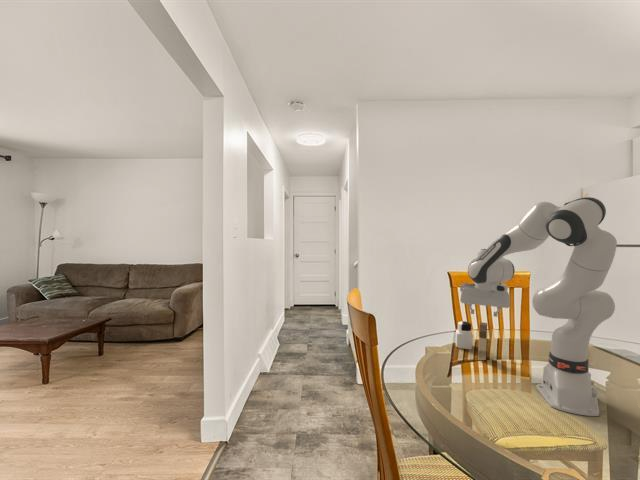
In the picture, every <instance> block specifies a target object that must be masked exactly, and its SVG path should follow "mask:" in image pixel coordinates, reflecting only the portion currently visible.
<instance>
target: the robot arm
mask: <svg viewBox="0 0 640 480" xmlns="http://www.w3.org/2000/svg"><path fill="white" fill-rule="evenodd" d="M606 215H607V209H606V206H605V205H604V203H603V202H602V200H599V199H598V198H595V197H591V196H589V197H587V196H586V197H580V198H577V199H574V200H570V201H568V202H565V203H564V205H562V206H557V205H555V204H554V203H552V202H548V201H540V202H537V203H535V204H534V205H533V206H532V207H531V208H530V209H528V210H527V212H525V214H523V216H522V217H521V218H520V219H519V220H518V222H517V223H516V224H515V225H514V226H513V227H511V229H510V230H507V232H505V233H504V234H501V236H499V237H497V238H496V239H495V240H494V241H493V242H492V243H491V244H490V245H489V246H488V247H487V248H482V249H479V250H478V252H477V254H476V258H474V259H472V260H471V262H470V263H469V265H468V268H467V274H468V276H469V278H470V279H471V281H473V282H474V283H470V282H469V283H467V282H464V283H461V284H460V286H459V289H460V292H461V294H460V299H459V300H460V301H459V302H460V303H462V304H467V305H468V308H469V310H470V315H475V309H473V308H472V306H473V305H474V306H475V305H477V306H485V307H487V306H488V307H494V308H495V307H496V310H495V311H493V317H494V318H496V317H497V318H498V314H499V312H501V310H502V309H501V308H505V309H508V308H510V306H511V300H510V299H511V298H510V294H509V292H508V285H507V284H505V282H509V281H511V280H512V279H513V278H514V275H515V266H514V264H513V262H511V260H510V259H506V258H505V256H508V255H510V254H514V253H520V252H521V253H522V252H527V251H532V250H534V249H536V248H538V247H540V246H541V245H542V244H544V243H545V241H546V240H547V239H548V238H549V237H551V238H552V239H554V240H555V241H557V242H559V243H562V244H565V245H566V246H568V247H573V250H572V253H571V255H570V257H569V261H568V263H567V265H566V267H565V269H564V271H563V272H562V274H561V275H560V276H559V277H558V278H557V279H555V281H553V282H551V284H548V285H547V286H544V287H543V288H540V289H538V290H536V291H535V293H534V294H533V296H532V307H533V308H534V310H535V312H536V313H537V315H539V316H543V317H545V318H551V319H558V320H559V319H560V320H568V321H567V322H566V323H565V324H563V325H562V326H559V327H557V328H555V330H553V332H552V334H551V345H550V351H549V354H548V364H546V365H544V366H543V370H542V376H541V377H542V378H541V383H537V384H536V386H535V387H536V389H537V391H538V392H539V393H540V394H541V396H542V397H543V398H544V399H545V402H547V403H548V405H549V406H550V407H551V408H554V409H555V410H559V411H562V412H566V413H570V414H575V415H581V416H587V417H598V416H600V408H599V402H598V389H597V388H593V387H592V386H594V385H595V381H594V380H592V374H591V373H590V372H589V367H590V365H589V359H588V353H589V347H590V345H589V344H590V340H591V337H592V335H593V333H594V331H595V330H596V329H597V328H598V327H599V325H601V324H602V323H603V322H605V321H606V320H608V319H610V318H611V317H612V316H613V315H614V313H615V311H616V310H615V309H616V303H615V300H614V299H613V297H612V296H611V295H610V294H609V293H607V292H605V291H601V290H597V289H599V288H600V287H601V286H602V285H603V284H604V281H605V280H606V278H607V275H608V273H609V271H610V269H611V266H612V264H613V262H614V258H615V255H616V251H617V246H618V245H617V244H618V242H617V239H616V237H615V235H613V234H612V233H611V232H609V231H606V230H603V229H602V228H600V227H599V225H600V224H601V223H602V222H603V221H604V219H605V217H606Z"/></svg>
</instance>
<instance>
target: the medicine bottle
mask: <svg viewBox="0 0 640 480" xmlns="http://www.w3.org/2000/svg"><path fill="white" fill-rule="evenodd" d="M473 338H474V335H473V332H472V324H471V323H470V322H468V321H465V320H464V321H462V320H461V321H458V322H457V328H456V329H455V347H458V348H457V349H462V348H463V350H471V349H472V350H473V341H474V339H473Z"/></svg>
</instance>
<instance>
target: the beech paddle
mask: <svg viewBox="0 0 640 480" xmlns="http://www.w3.org/2000/svg"><path fill="white" fill-rule="evenodd" d="M487 336H488V322H483V321H481V322H479V333H478V351H477V352H478V353H477V357H478V358H477V360H478V359H482V360H487V359H486V358H487V357H486V356H487V340H488V339H487V338H488V337H487Z"/></svg>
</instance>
